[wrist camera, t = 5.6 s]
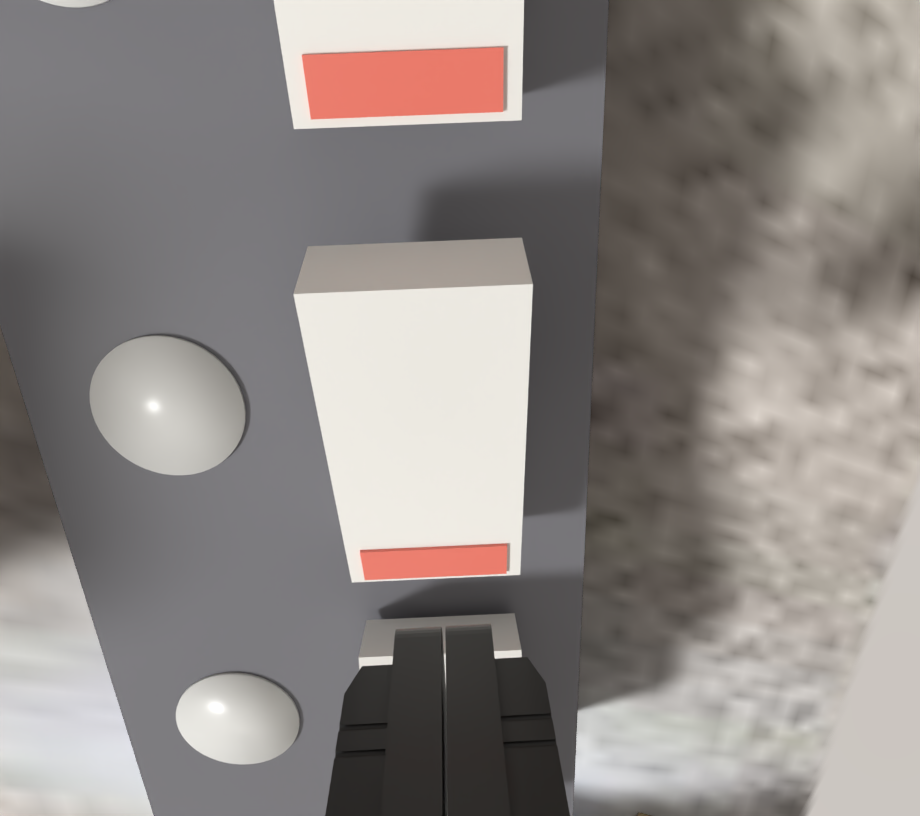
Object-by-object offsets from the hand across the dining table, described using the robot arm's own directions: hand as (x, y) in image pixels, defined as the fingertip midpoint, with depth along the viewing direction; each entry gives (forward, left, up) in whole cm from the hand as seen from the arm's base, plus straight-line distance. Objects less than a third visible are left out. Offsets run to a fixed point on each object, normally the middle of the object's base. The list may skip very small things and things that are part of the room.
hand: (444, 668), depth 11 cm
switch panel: (-7, -3, -9) cm, 12 cm away
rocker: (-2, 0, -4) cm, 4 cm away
